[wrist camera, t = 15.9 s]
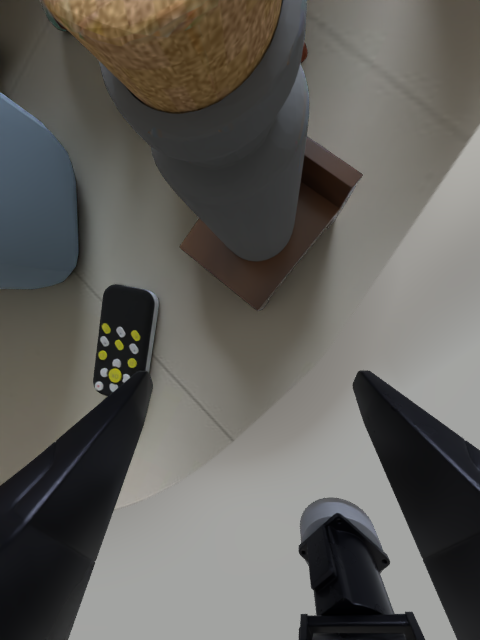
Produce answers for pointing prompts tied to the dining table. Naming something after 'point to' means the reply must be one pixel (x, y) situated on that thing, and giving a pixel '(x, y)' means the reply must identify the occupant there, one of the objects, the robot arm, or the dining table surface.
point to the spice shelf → (310, 221)
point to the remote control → (124, 336)
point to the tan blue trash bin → (34, 203)
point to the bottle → (210, 103)
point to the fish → (52, 18)
